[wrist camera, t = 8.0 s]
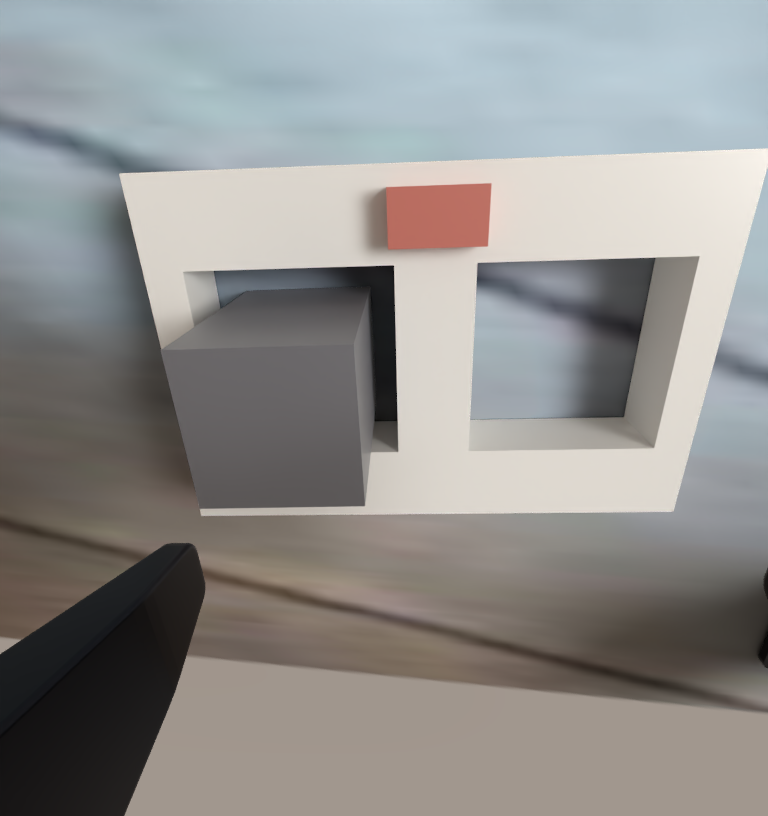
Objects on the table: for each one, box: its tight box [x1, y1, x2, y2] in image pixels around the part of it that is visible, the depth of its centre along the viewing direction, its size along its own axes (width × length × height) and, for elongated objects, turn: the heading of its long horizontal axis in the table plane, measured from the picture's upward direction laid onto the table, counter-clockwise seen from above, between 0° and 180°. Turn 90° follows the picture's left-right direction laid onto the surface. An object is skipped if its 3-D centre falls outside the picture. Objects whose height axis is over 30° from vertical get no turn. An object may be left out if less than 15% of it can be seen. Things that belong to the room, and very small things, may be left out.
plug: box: [160, 286, 376, 509], centre depth 15 cm, size 4×4×7 cm
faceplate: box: [119, 149, 768, 516], centre depth 16 cm, size 12×18×3 cm, turn 92°
